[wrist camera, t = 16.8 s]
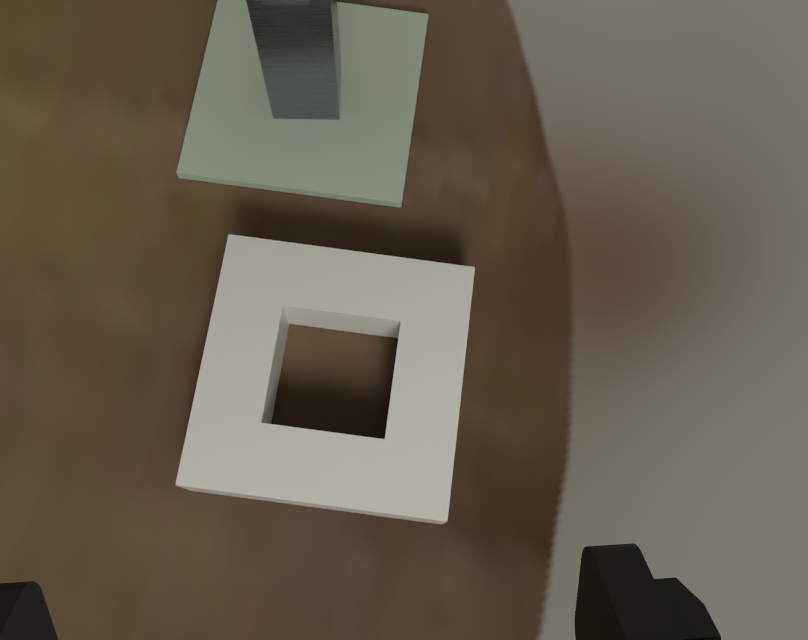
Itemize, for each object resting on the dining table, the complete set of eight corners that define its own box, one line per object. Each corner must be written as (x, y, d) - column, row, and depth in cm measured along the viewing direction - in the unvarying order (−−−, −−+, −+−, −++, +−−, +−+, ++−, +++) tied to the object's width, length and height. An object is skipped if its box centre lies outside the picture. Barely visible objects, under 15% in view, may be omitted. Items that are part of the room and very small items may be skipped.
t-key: (272, 130, 42) (234, -31, 30) (276, 50, 43) (241, -132, 32) (339, 131, 42) (326, -29, 31) (341, 52, 43) (329, -129, 32)
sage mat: (178, 178, 42) (176, 172, 41) (222, -7, 45) (221, -14, 44) (401, 207, 41) (401, 202, 41) (427, 20, 45) (428, 13, 44)
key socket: (190, 490, 37) (175, 485, 34) (238, 257, 40) (228, 234, 37) (441, 524, 37) (447, 521, 34) (467, 287, 40) (475, 267, 37)
